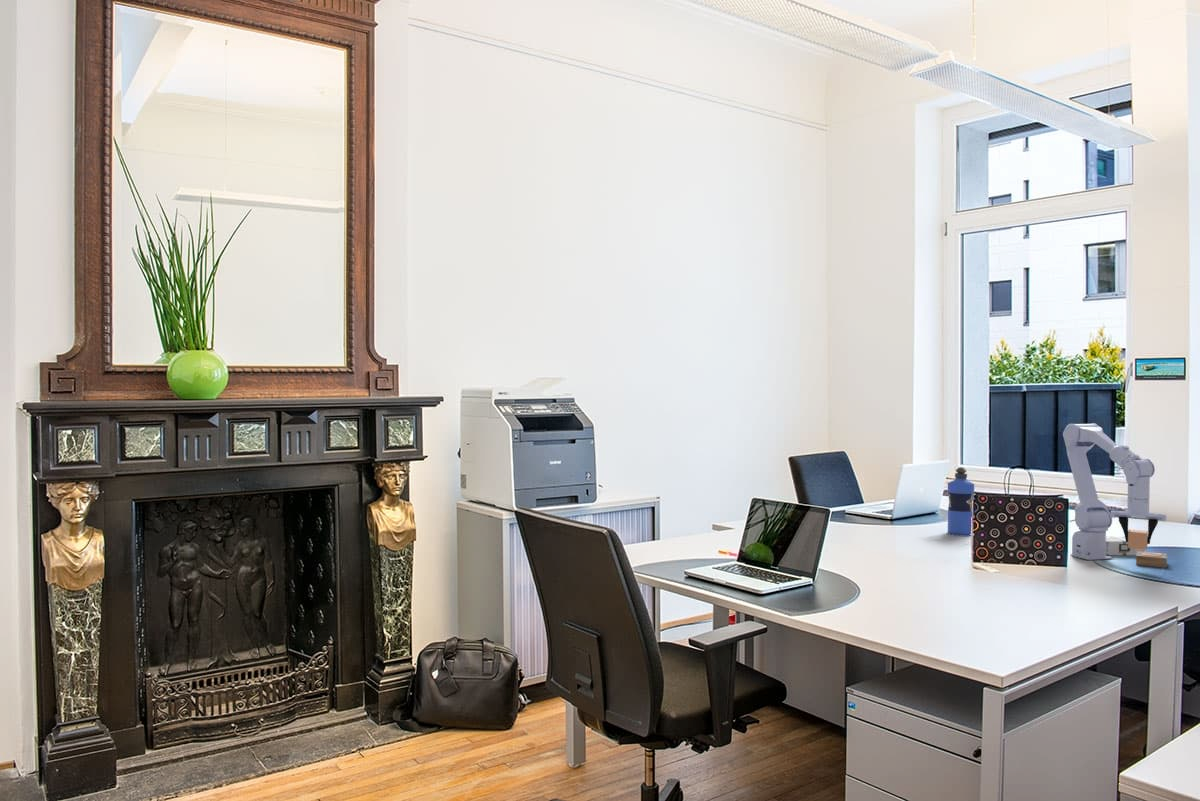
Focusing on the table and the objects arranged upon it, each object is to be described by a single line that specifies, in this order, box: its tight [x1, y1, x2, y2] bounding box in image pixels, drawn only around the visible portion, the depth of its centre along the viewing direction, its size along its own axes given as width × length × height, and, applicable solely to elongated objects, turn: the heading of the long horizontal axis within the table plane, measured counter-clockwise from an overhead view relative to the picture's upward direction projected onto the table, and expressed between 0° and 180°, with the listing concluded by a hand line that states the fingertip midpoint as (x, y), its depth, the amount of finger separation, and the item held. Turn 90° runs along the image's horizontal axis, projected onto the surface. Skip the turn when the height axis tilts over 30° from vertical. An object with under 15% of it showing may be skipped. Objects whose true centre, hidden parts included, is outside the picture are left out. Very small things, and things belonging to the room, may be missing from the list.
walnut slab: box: [1135, 551, 1168, 569], centre depth 278 cm, size 8×8×3 cm
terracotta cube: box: [1128, 528, 1148, 551], centre depth 271 cm, size 5×5×5 cm
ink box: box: [1106, 536, 1146, 556], centre depth 296 cm, size 9×5×15 cm
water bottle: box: [947, 467, 975, 537], centre depth 333 cm, size 9×9×25 cm
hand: (1137, 542), depth 271 cm, fingers closed on terracotta cube, 5 cm apart
